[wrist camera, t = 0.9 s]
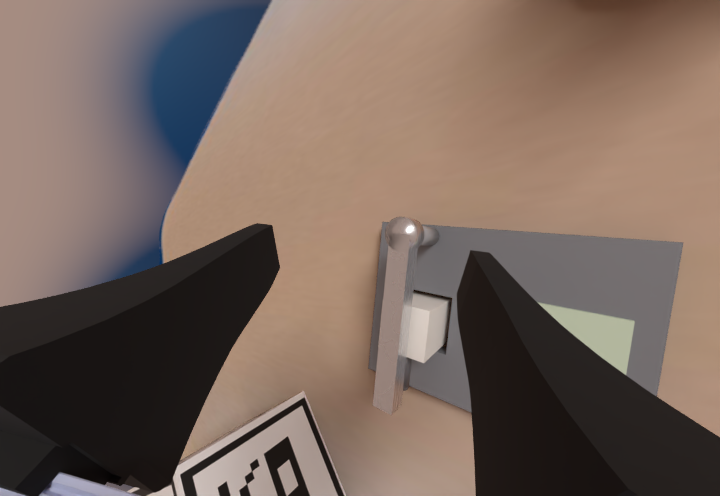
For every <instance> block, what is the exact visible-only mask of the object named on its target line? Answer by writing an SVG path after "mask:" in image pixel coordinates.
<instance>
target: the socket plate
mask: <svg viewBox="0 0 720 496" xmlns="http://www.w3.org/2000/svg"><path fill="white" fill-rule="evenodd" d="M388 223H389V222H383V223H382V233H381V244H380V254H379V264H378V275H377V285H376V295H375V306H374V316H373V326H372V337H371V347H370V358H369V369H371V370H373V371H376V367H377V357H378V344H379V334H380V324H381V313H382V303H383V296H384V286H385V276H386V266H387V256H388V244H387V242H386V239H385V229H386V227H387V225H388ZM422 226H423V228H424V233H425V236H424V240H423V242H422V244H421V245H420V246H419V247H418V253H417V262H416V271H415V281H414V290H418V291H422V292H427V293H432V294H436V295H441V296H446V297H450V298H452V306H451V315H450V323H449V332H448V341H447V348H444V347H441V348H440V349H439V350H438V351H436V352H435V353H434V354H433V355H432V356H431V357H430V358H429V359H428V360H427V361H426V362H425V363H422V362H419V361H416V360H413V359H412V364H411V373H410V382H409V386H411V387H413V388H415V389H418V390H420V391H422V392H425V393H427V394H429V395H432V396H434V397H436V398H438V399H441V400H443V401H445V402H448V403H450V404H452V405H455V406H457V407H459V408H462V409H464V410H466V411H469V412H471V413H472V411H471V398H470V389H469V382H468V376H467V370H466V365H465V359H464V353H463V348H462V342H461V336H460V331H459V325H458V316H457V291H458V288H459V285H460V282H461V278H462V275H463V272H464V269H465V266H466V263H467V260H468V256H469V253H470V250H474V251H482V252H489V253H490V254H491V255H492V256H493V257H494V258H495V259H496V260H497V261H498V262H499V263H500V264H501V265H502V266H503V267H504V268H505V269H506V271H507V272H508V273H509V274H510V275H511V276H512V277H513V278H514V279H515V280H516V281H517V282H518V283H519V284H520V285H521V287H522V288H523V289H524V290H525V291H526V292H527V293H528V294H529V295H530V296H531V297H532V298H533V299H534V300H535V301H536V302H537V303H538V304H539V305H540V306H542V307H543V308H544V309H545V310H546V311H547V312H548V313H549V314H550V315H551V316H552V317H553V318H555V319H556V320H557V321H558V322H559V323H560V324H561V325H562V326H563V327H565V328H566V329H567V330H568V331H569V332H570V333H572V334H573V335H574V336H575V337H577V338H578V339H579V340H580V341H582V342H583V343H584V344H585V345H586V346H588V347H589V348H590V349H591V350H593V351H594V352H595V353H596V354H598V355H599V356H600V357H602V358H603V359H604V360H606V361H607V362H608V363H610V364H611V365H612V366H614V367H615V368H617V369H618V370H619V371H621V372H622V373H624V374H625V375H626V376H628V377H629V378H631V379H632V380H633V381H635V382H636V383H638V384H639V385H640V386H642V387H643V388H645V389H646V390H648V391H649V392H651V393H652V394H653V395H655V396H656V397H657V392H658V387H659V381H660V375H661V369H662V363H663V358H664V352H665V346H666V340H667V334H668V329H669V323H670V317H671V311H672V305H673V300H674V294H675V288H676V282H677V276H678V271H679V265H680V259H681V253H682V247H683V243H682V242H667V241H653V240H638V239H624V238H609V237H595V236H580V235H566V234H551V233H537V232H523V231H508V230H494V229H479V228H465V227H450V226H436V225H422Z"/></svg>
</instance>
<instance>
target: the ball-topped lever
mask: <svg viewBox="0 0 720 496" xmlns="http://www.w3.org/2000/svg"><path fill="white" fill-rule="evenodd" d="M424 236H425V233H424V228H423V226H422V225H421V223H420V222H418V221H417V220H415V219H411V218H406V217H396V218H394V219H392V220H391V221H390V222H389V223H388V225H387V227H386V229H385V239H386V242H387V244H388V256H387V266H386V276H385V286H384V296H383V306H382V317H381V327H380V337H379V347H378V357H377V367H376V377H375V388H374V398H373V406H374V407H376V408H378V409H380V410H382V411H384V412H386V413H388V414H390V415H392V414H393V413H394V412H395V411H396V410H397V409H398V408H399V407H400V406H401V403H402V394H403V385H404V375H405V366H406V356H407V347H408V337H409V328H410V319H411V309H412V300H413V290H414V281H415V271H416V262H417V253H418V247H419V246H420V245H421V244H422V242H423V240H424Z"/></svg>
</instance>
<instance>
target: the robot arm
mask: <svg viewBox="0 0 720 496" xmlns="http://www.w3.org/2000/svg"><path fill="white" fill-rule="evenodd" d="M279 269H280V265H279V260H278V254H277V249H276V244H275V238H274V233H273V227H272V225H266V224H258V223H257V224H254V225H251V226H249V227H246V228H244V229H242V230H239V231H237V232H235V233H233V234H231V235H228V236H226V237H224V238H222V239H220V240H218V241H215V242H213V243H211V244H209V245H207V246H205V247H202V248H200V249H198V250H195V251H193V252H191V253H188V254H186V255H184V256H181V257H179V258H177V259H174V260H172V261H169V262H167V263H164V264H161V265H159V266H156V267H154V268H151V269H147V270H145V271H142V272H139V273H136V274H133V275H130V276H126V277H123V278H120V279H116V280H113V281H109V282H106V283H102V284H99V285H95V286H92V287H89V288H85V289H81V290H77V291H73V292H69V293H64V294H61V295H56V296H51V297H47V298H43V299H38V300H34V301H29V302H24V303H19V304H14V305H8V306H3V307H0V496H140V495H136V494H133V493H130V492H126V491H123V490H119V489H116V488H113V487H109V486H106V485H105V484H106V483H107V482H109V483H113V484H116V485H119V486H121V485H122V484H126V485H130V486H133V487H136V488H140V489H143V490H147V491H150V492H153V493H156V492H158V491H160V490H162V489H163V488H165V487H166V486H168V485H169V484H170V483H171V482H172V479H173V476H174V474H175V471H176V468H177V466H178V464H179V461H180V459H181V456H182V454H183V451H184V449H185V446H186V444H187V441H188V439H189V437H190V434H191V432H192V430H193V427H194V425H195V423H196V421H197V418H198V416H199V414H200V412H201V409H202V407H203V405H204V403H205V400H206V398H207V396H208V394H209V392H210V390H211V388H212V386H213V384H214V382H215V380H216V378H217V376H218V374H219V372H220V370H221V368H222V366H223V364H224V362H225V360H226V358H227V356H228V355H229V353H230V351H231V349H232V347H233V345H234V344H235V342H236V340H237V339H238V337H239V336H240V334H241V333H242V331H243V330H244V328H245V327H246V325H247V324H248V322H249V321H250V319H251V318H252V316H253V314H254V313H255V311H256V310H257V308H258V307H259V305H260V304H261V302H262V301H263V299H264V298H265V296H266V295H267V293H268V291H269V290H270V288H271V286H272V284H273V282H274V280H275V278H276V275H277V273H278V271H279ZM457 316H458V325H459V331H460V336H461V342H462V348H463V353H464V359H465V365H466V370H467V376H468V382H469V389H470V398H471V411H472V425H473V442H474V459H475V484H476V496H720V437H718V436H717V435H715V434H714V433H712V432H710V431H709V430H707V429H706V428H704V427H703V426H701V425H699V424H698V423H696V422H695V421H693V420H692V419H690V418H689V417H687V416H685V415H684V414H682V413H681V412H679V411H678V410H676V409H674V408H673V407H671V406H670V405H668V404H667V403H665V402H664V401H662V400H661V399H659V398H658V397H656V396H655V395H653V394H652V393H651V392H649V391H648V390H646V389H645V388H643V387H642V386H640V385H639V384H638V383H636V382H635V381H633V380H632V379H631V378H629V377H628V376H626V375H625V374H624V373H622V372H621V371H619V370H618V369H617V368H615V367H614V366H612V365H611V364H610V363H608V362H607V361H606V360H604V359H603V358H602V357H600V356H599V355H598V354H596V353H595V352H594V351H593V350H591V349H590V348H589V347H588V346H586V345H585V344H584V343H583V342H582V341H580V340H579V339H578V338H577V337H575V336H574V335H573V334H572V333H570V332H569V331H568V330H567V329H566V328H565V327H563V326H562V325H561V324H560V323H559V322H558V321H557V320H556V319H555V318H553V317H552V316H551V315H550V314H549V313H548V312H547V311H546V310H545V309H544V308H543V307H542V306H540V305H539V304H538V303H537V302H536V301H535V300H534V299H533V298H532V297H531V296H530V295H529V294H528V293H527V292H526V291H525V290H524V289H523V288H522V287H521V285H520V284H519V283H518V282H517V281H516V280H515V279H514V278H513V277H512V276H511V275H510V274H509V273H508V272H507V271H506V269H505V268H504V267H503V266H502V265H501V264H500V263H499V262H498V261H497V260H496V259H495V258H494V257H493V256H492V255H491V254H490V253H489V252H482V251H474V250H470V253H469V256H468V260H467V263H466V266H465V269H464V272H463V275H462V278H461V282H460V285H459V288H458V291H457Z"/></svg>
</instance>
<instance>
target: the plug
mask: <svg viewBox="0 0 720 496" xmlns="http://www.w3.org/2000/svg"><path fill="white" fill-rule="evenodd" d="M450 305H451V299H447V298H442V297H437V296H433V295H428V294H424V293H419V292H414V291H413V300H412V309H411V319H410V328H409V337H408V347H407V356H406V366H405V375H404V385H403V391H405V390H407V389H408V388H409V382H410V373H411V364H412V359H413V360H416V361H419V362H422V363H425V362H426V361H427V360H428V359H429V358H430V357H431V356H432V355H433V354H434V353H435V352H436V351H438V350H439V349H440V348H441V347H442V346H443V345H444V344H445V343H446V340H447V331H448V322H449V314H450ZM382 306H383V303H382ZM381 317H382V313H381ZM380 327H381V324H380ZM379 337H380V334H379ZM378 347H379V344H378Z"/></svg>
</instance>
